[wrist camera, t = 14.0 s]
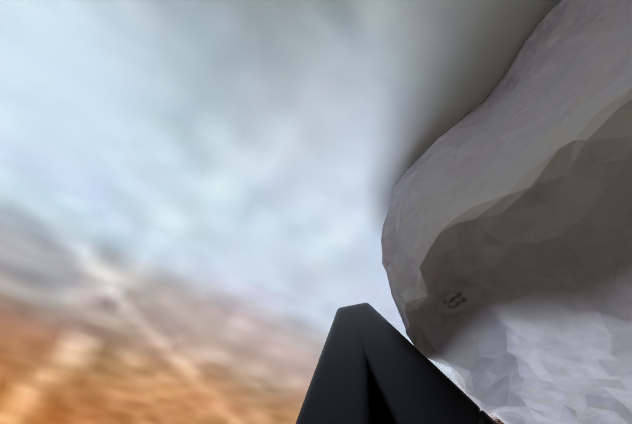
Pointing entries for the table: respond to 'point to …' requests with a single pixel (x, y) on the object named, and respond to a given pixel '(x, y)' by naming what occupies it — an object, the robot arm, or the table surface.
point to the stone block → (530, 230)
